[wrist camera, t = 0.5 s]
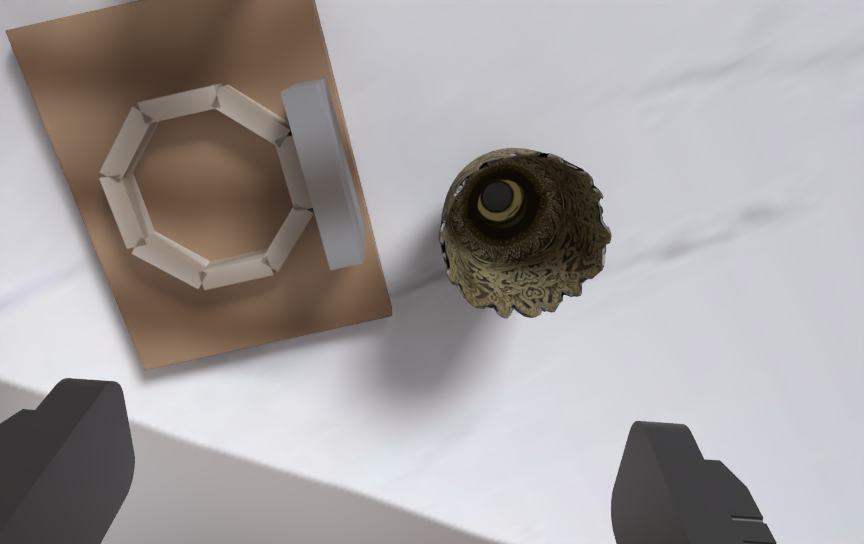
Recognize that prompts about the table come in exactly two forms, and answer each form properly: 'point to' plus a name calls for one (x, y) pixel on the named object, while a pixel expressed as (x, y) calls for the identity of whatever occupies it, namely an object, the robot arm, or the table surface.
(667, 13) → the table surface
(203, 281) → the socket board
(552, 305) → the cup
